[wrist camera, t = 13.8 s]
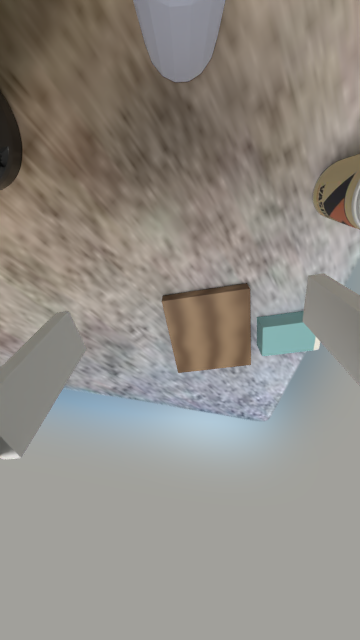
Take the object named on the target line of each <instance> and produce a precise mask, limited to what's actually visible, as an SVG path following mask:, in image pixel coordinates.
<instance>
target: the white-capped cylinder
mask: <svg viewBox="0 0 360 640" xmlns="http://www.w3.org/2000/svg"><path fill="white" fill-rule="evenodd" d="M313 203H314V207H315V209H316V210H317V212H318V213H320V214H321V215H323V216H325V217H327V218H329V219H332V220H335V221H338V222H340V223H343V224H346V225H349V226H351V227H354V228H357V229H360V154H358V155H355V156H352V157H348V158H345V159H343V160H340V161H338V162H336V163H334V164H332V165H331V166H330V167H328V168H327V169H326V170H325V171H324V172H323V173H322V175H321V176H320V177H319V179H318V181H317V183H316V185H315V188H314V192H313Z"/></svg>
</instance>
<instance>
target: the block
mask: <svg viewBox="0 0 360 640" xmlns="http://www.w3.org/2000/svg"><path fill="white" fill-rule="evenodd" d="M303 313H304V311H301V312H293V313H286V314H278V315H271V316H264V317H257V346H258V348H259V350H260V352H261V355H262V356H269V355H277V354H286V353H294V352H303V351H311V350H319V345H320V341H319V339H318V338H317V337H316V336H315V335H314V334H313V333H312V332H311V330H310V329H309V328H308V327H307V326H306V325H305V324H304V322H303Z"/></svg>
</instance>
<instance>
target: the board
mask: <svg viewBox="0 0 360 640" xmlns="http://www.w3.org/2000/svg"><path fill="white" fill-rule="evenodd" d="M162 304H163V309H164V313H165V317H166V322H167V326H168V330H169V335H170V339H171V343H172V348H173V352H174V356H175V361H176V365H177V369H178V373H182V372H191V371H200V370H209V369H217V368H226V367H235V366H244V365H251V330H250V288H249V286H248V285H247V283H246V284H239V285H232V286H225V287H219V288H212V289H205V290H198V291H192V292H185V293H178V294H171V295H165V296H163V298H162Z"/></svg>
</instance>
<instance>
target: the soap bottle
mask: <svg viewBox="0 0 360 640" xmlns="http://www.w3.org/2000/svg"><path fill="white" fill-rule="evenodd" d="M133 2H134V5H135V9H136V13H137V16H138V20H139V24H140V27H141V31H142V35H143V38H144V42H145V45H146V48H147V51H148V53H149V56H150V59H151V62H152V64H153V65H154V66H155V67H156V68H157V70H158V71H159V72H160V73H161V75H162V76H164V77H166V78H168V79H170V80H172V81H174V82H187V81H190V80H192V79H193V78H195V77H196V76H198V75H199V74H201V73H202V71H203V70H204V68H205V67H206V65H207V64H208V62H209V61H210V59H211V57H212V54H213V51H214V47H215V44H216V40H217V37H218V32H219V27H220V23H221V18H222V14H223V9H224V5H225V0H133Z"/></svg>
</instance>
